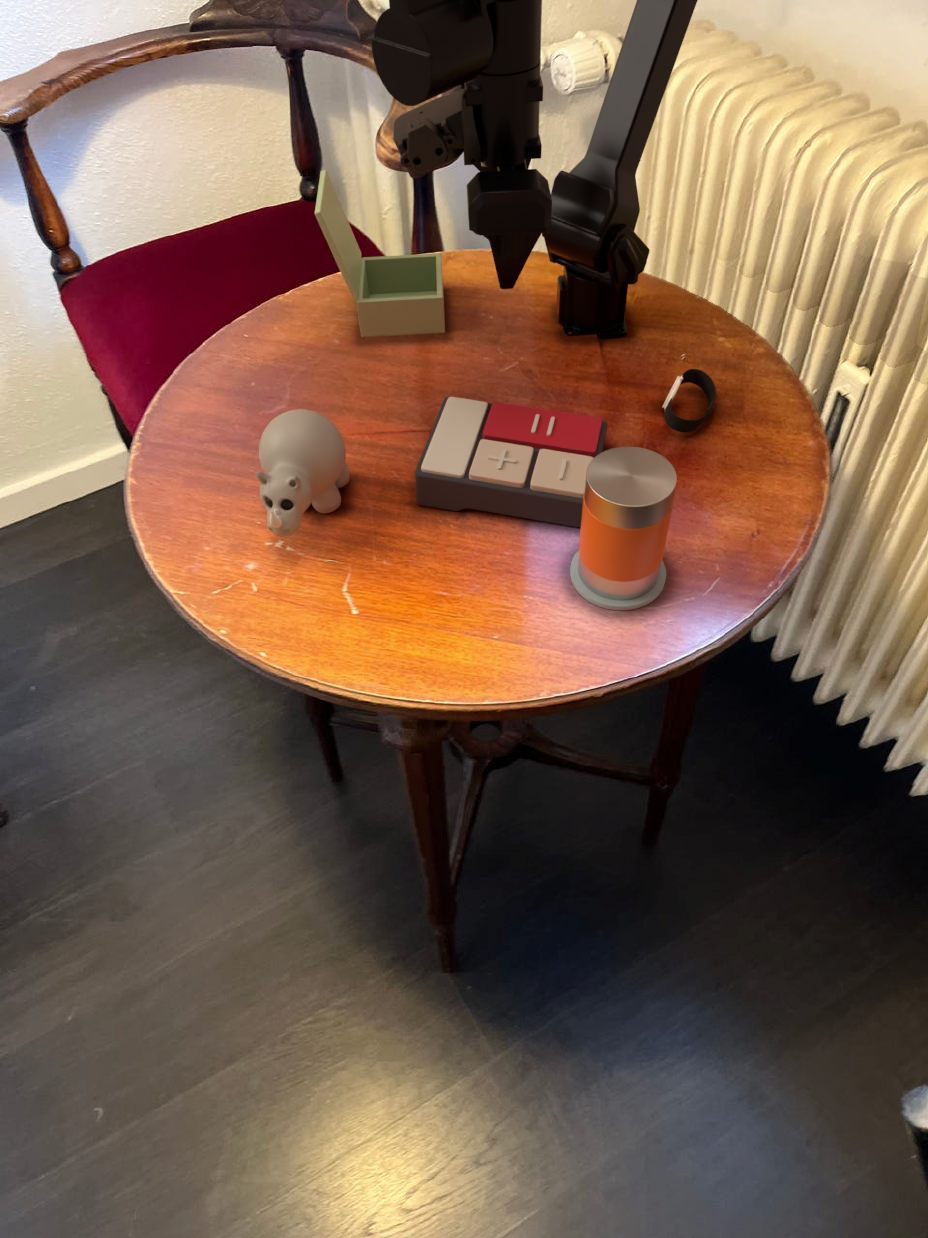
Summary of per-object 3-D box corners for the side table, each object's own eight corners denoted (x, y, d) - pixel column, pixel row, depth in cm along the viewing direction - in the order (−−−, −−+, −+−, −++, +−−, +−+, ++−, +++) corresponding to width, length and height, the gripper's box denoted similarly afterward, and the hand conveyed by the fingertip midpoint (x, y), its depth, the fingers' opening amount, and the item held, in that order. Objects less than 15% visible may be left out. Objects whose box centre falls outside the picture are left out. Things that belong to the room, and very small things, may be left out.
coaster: (656, 538, 74) (657, 533, 74) (673, 608, 69) (674, 603, 69) (565, 542, 74) (565, 538, 74) (575, 613, 69) (576, 609, 69)
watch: (673, 384, 87) (679, 351, 84) (721, 394, 86) (728, 362, 83) (651, 431, 83) (656, 398, 80) (701, 442, 81) (708, 410, 79)
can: (570, 545, 73) (577, 450, 65) (647, 536, 73) (664, 441, 66) (586, 605, 69) (595, 511, 61) (668, 595, 69) (688, 501, 62)
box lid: (326, 168, 88) (320, 170, 89) (320, 211, 83) (314, 213, 83) (361, 253, 95) (356, 255, 96) (358, 297, 90) (352, 299, 90)
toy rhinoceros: (240, 559, 74) (214, 482, 68) (287, 464, 82) (268, 387, 75) (323, 569, 73) (304, 493, 67) (362, 473, 81) (349, 395, 74)
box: (443, 292, 99) (441, 252, 96) (445, 337, 94) (442, 297, 90) (364, 296, 99) (359, 257, 96) (361, 341, 94) (356, 302, 90)
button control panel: (592, 497, 72) (413, 467, 74) (586, 534, 75) (414, 504, 77) (609, 413, 79) (445, 387, 81) (603, 450, 82) (445, 425, 84)
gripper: (395, 23, 72) (411, 213, 84) (391, 119, 60) (411, 324, 72) (532, 15, 72) (529, 207, 84) (556, 109, 60) (548, 317, 72)
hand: (503, 259), depth 78 cm, fingers open, 9 cm apart
